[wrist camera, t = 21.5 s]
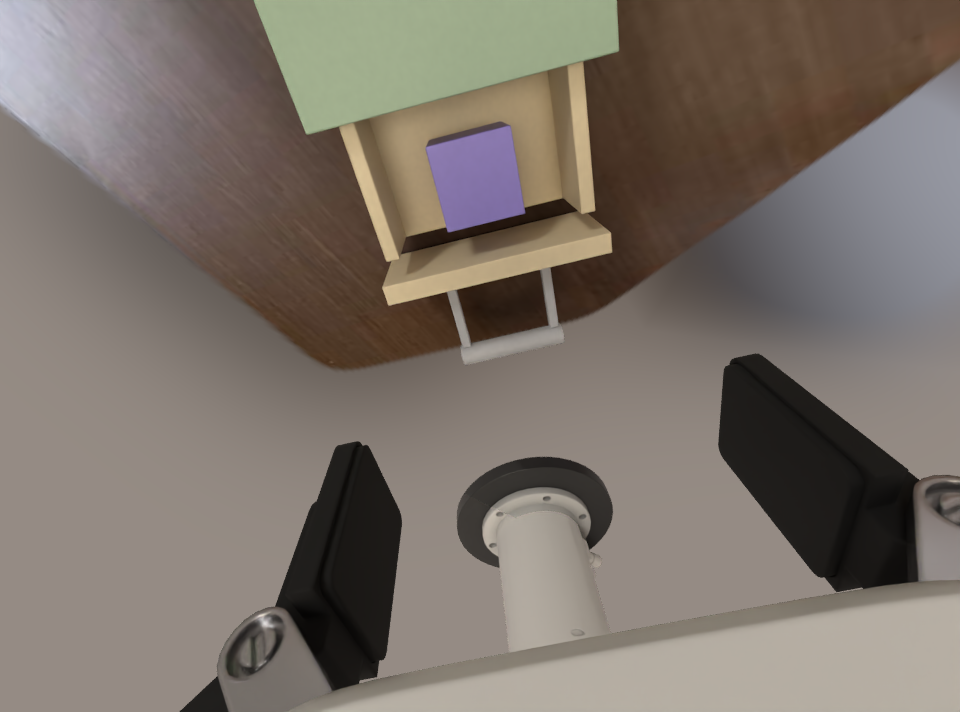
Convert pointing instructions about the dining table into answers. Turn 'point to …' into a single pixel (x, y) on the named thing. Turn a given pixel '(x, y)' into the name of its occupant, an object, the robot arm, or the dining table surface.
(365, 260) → the dining table surface
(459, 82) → the drawer cabinet
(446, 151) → the purple cube
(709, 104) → the dining table surface
